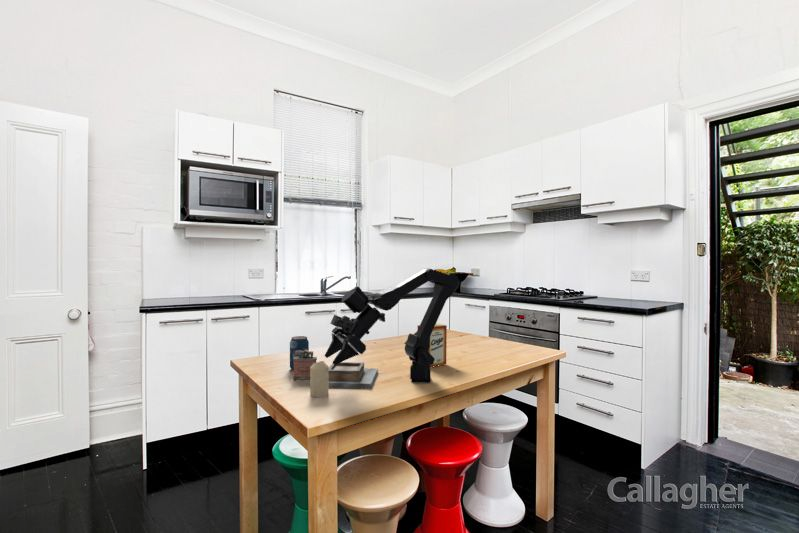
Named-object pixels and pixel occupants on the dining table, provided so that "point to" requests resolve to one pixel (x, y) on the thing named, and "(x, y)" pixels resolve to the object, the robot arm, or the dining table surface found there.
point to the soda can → (297, 347)
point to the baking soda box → (438, 344)
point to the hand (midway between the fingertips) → (329, 360)
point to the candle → (319, 379)
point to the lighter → (303, 364)
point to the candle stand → (351, 375)
